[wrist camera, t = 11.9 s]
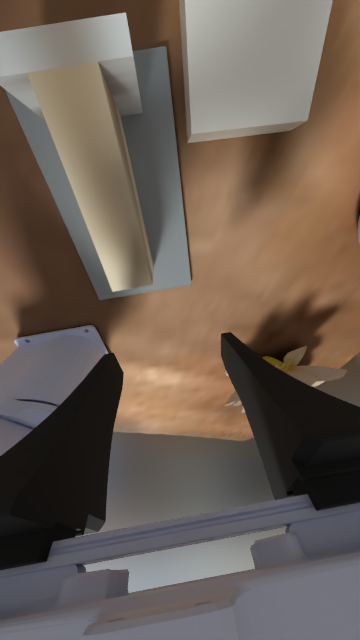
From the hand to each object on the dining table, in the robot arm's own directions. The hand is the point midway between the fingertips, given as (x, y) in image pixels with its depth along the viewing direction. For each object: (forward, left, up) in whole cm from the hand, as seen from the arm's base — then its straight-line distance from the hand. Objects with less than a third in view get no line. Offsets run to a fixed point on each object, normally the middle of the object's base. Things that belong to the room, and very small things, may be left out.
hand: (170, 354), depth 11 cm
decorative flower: (+13, -16, -10) cm, 22 cm away
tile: (+8, +12, -9) cm, 17 cm away
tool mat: (-2, +8, -9) cm, 13 cm away
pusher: (-2, +9, -9) cm, 12 cm away
